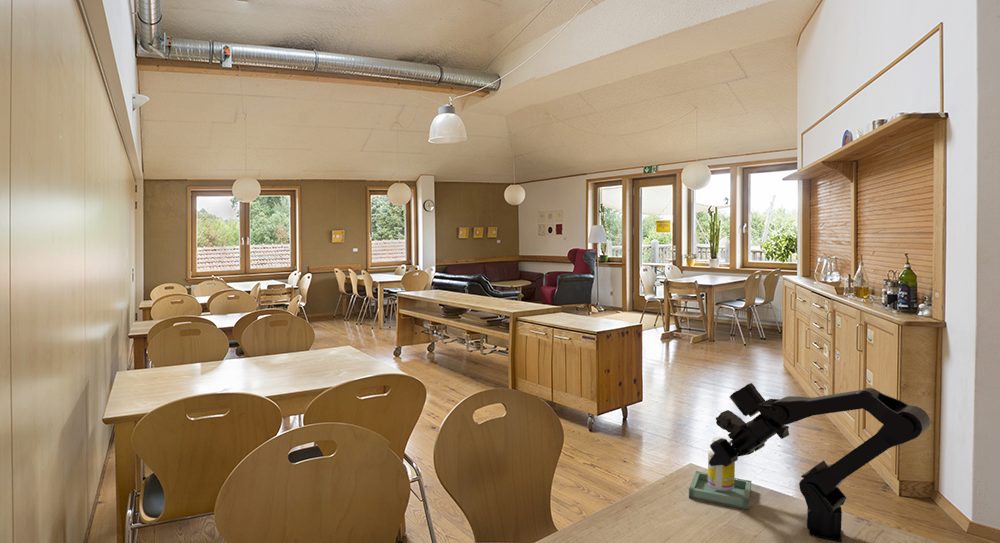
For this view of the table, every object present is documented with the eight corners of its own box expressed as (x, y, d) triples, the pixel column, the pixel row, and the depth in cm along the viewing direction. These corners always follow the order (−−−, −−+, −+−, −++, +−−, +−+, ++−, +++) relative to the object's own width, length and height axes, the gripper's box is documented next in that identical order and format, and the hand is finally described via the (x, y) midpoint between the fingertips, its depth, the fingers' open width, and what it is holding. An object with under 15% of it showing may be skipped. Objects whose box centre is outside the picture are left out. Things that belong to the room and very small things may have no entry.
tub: (751, 489, 156) (751, 480, 156) (747, 509, 145) (748, 500, 145) (695, 479, 162) (696, 471, 162) (688, 498, 151) (688, 488, 151)
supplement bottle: (736, 485, 154) (738, 438, 153) (730, 494, 148) (732, 445, 148) (711, 479, 158) (712, 433, 157) (704, 487, 152) (705, 440, 152)
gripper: (754, 396, 155) (715, 426, 164) (717, 411, 143) (678, 442, 152) (783, 432, 149) (741, 461, 158) (748, 451, 137) (705, 481, 146)
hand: (716, 460), depth 154 cm, fingers closed on supplement bottle, 6 cm apart
